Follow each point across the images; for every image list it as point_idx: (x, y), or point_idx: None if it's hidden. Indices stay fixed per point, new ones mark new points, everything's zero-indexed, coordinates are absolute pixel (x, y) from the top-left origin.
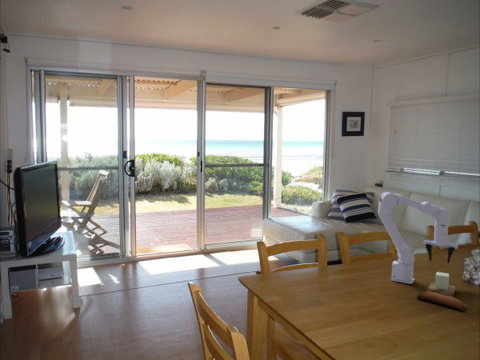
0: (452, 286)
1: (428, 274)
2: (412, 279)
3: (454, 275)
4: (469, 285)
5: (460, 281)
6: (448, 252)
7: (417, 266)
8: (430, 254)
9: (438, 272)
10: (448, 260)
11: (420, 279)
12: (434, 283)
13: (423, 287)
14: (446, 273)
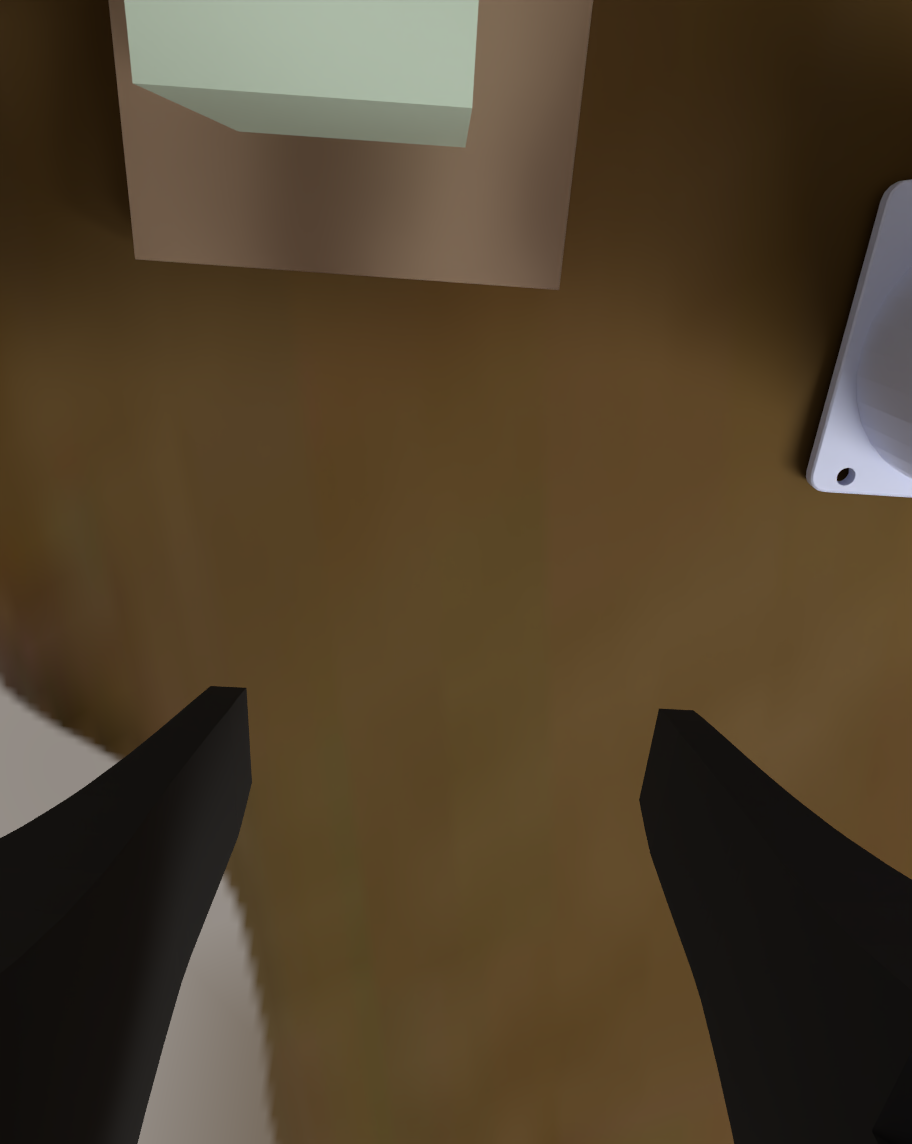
0: (174, 192)
1: (591, 815)
2: (875, 349)
3: (286, 916)
4: (41, 626)
5: None
6: (61, 896)
7: None
8: (753, 814)
9: (427, 42)
10: (192, 722)
11: (708, 550)
12: (501, 206)
13: (678, 111)
14: (205, 66)
